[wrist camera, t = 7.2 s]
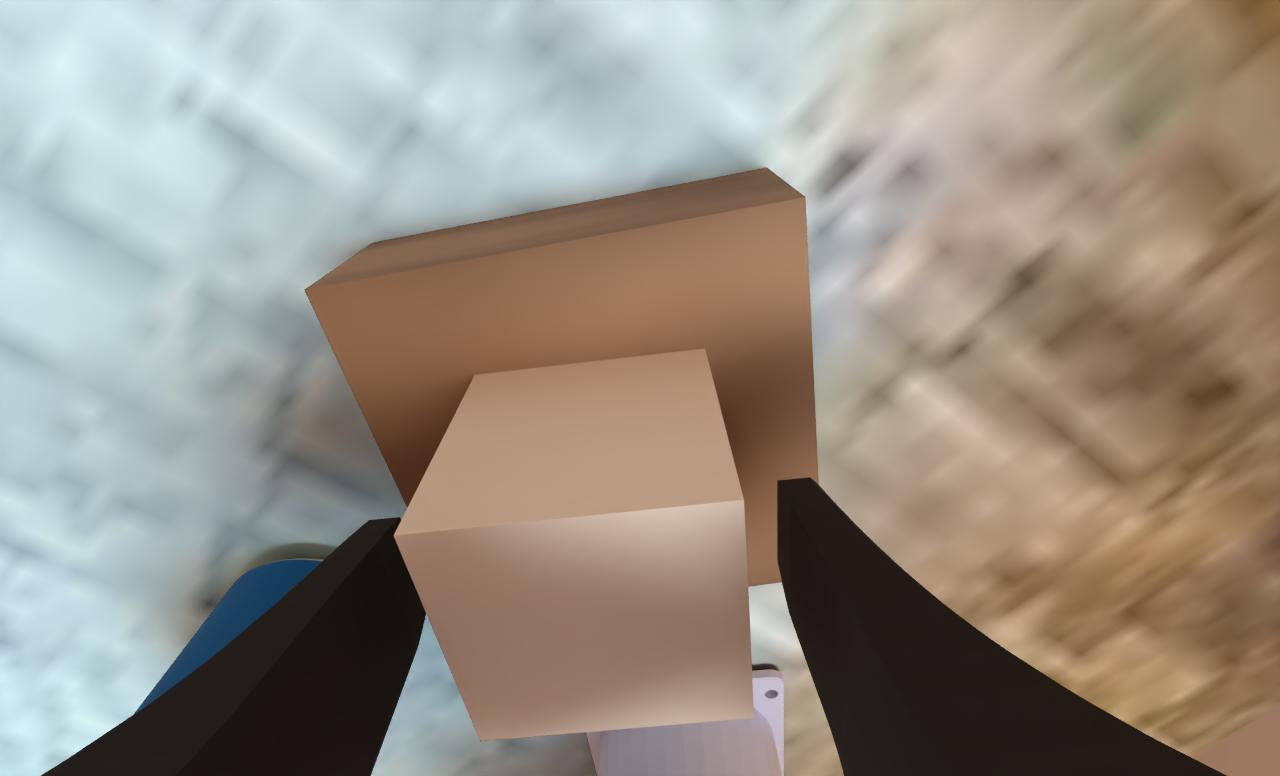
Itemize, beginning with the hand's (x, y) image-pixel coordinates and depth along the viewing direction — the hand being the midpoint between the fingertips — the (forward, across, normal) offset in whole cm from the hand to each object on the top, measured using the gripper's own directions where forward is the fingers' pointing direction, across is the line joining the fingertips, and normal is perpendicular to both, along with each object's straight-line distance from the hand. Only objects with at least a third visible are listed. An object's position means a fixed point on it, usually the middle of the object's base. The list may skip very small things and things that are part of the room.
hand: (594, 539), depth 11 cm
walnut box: (+7, 0, 0) cm, 7 cm away
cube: (+3, 0, 0) cm, 3 cm away
